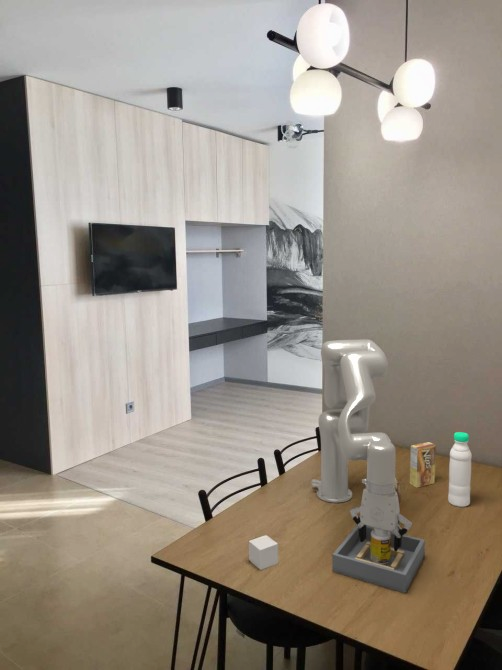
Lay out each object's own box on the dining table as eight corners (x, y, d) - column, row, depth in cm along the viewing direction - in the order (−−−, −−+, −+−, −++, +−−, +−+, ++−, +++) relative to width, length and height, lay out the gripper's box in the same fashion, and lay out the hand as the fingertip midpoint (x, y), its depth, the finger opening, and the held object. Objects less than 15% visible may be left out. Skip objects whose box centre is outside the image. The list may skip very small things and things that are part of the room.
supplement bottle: (380, 567, 150) (381, 532, 149) (366, 558, 155) (366, 524, 153) (394, 561, 153) (395, 527, 152) (380, 552, 158) (381, 519, 156)
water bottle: (444, 499, 193) (446, 430, 190) (463, 497, 194) (466, 429, 190) (453, 508, 187) (456, 437, 183) (473, 506, 187) (476, 436, 183)
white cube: (249, 560, 157) (248, 540, 156) (266, 554, 160) (266, 534, 160) (260, 570, 152) (260, 550, 151) (278, 563, 155) (277, 543, 155)
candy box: (427, 479, 210) (428, 441, 208) (435, 483, 206) (436, 444, 204) (409, 484, 206) (410, 445, 204) (417, 488, 203) (418, 448, 200)
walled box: (332, 571, 151) (332, 554, 150) (357, 538, 168) (358, 523, 167) (405, 593, 141) (405, 575, 140) (424, 556, 157) (424, 539, 157)
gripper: (345, 485, 152) (345, 542, 155) (408, 498, 143) (407, 559, 146) (355, 475, 158) (355, 531, 161) (416, 487, 150) (414, 546, 152)
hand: (379, 544), depth 153 cm, fingers open, 9 cm apart
